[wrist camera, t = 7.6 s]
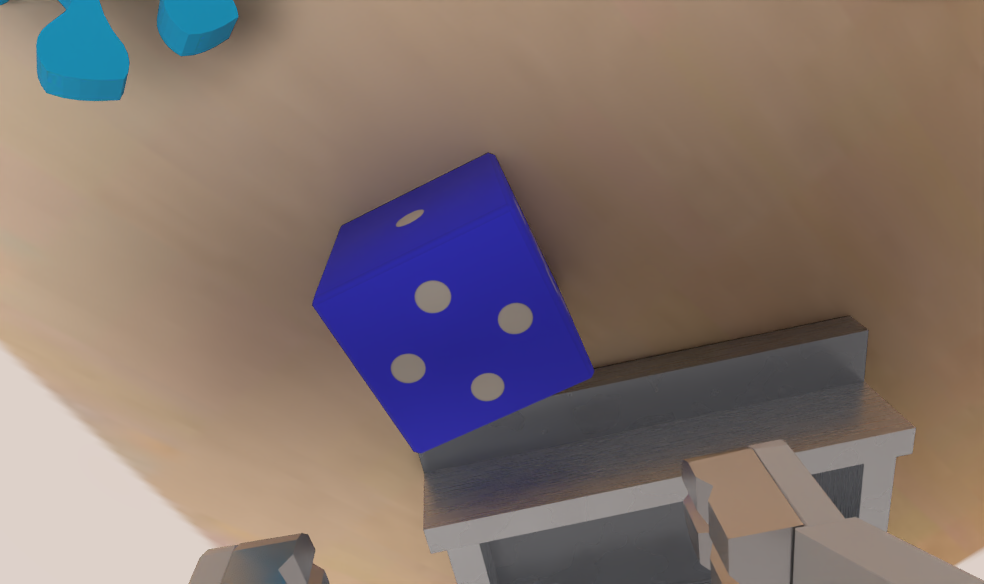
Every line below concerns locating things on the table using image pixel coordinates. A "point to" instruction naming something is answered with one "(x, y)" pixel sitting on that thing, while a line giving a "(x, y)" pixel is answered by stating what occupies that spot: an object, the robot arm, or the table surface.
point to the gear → (119, 44)
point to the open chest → (656, 458)
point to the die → (450, 307)
